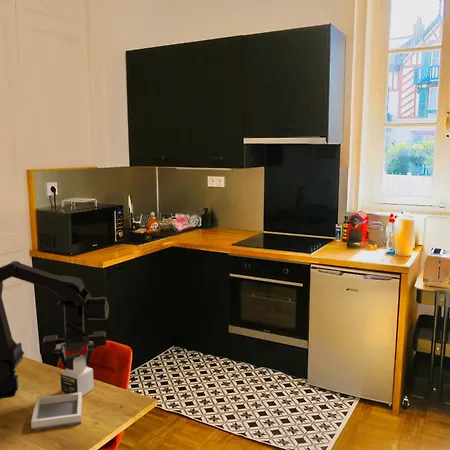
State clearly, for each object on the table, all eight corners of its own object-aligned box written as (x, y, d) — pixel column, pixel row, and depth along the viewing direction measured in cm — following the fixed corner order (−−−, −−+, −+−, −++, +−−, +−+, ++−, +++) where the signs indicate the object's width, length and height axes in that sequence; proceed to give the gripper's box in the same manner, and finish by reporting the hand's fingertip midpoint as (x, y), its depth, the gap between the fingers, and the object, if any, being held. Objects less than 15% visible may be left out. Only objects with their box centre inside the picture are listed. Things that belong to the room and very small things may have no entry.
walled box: (31, 430, 132) (31, 421, 132) (37, 405, 144) (36, 397, 144) (81, 423, 135) (80, 415, 135) (82, 399, 148) (81, 392, 147)
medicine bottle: (60, 393, 151) (58, 357, 149) (77, 383, 157) (75, 349, 155) (77, 399, 148) (76, 362, 146) (94, 389, 154) (92, 353, 152)
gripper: (39, 331, 138) (42, 382, 141) (105, 325, 143) (107, 374, 146) (43, 318, 149) (45, 365, 152) (105, 313, 154) (106, 358, 156)
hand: (76, 366), depth 151 cm, fingers closed on medicine bottle, 6 cm apart
